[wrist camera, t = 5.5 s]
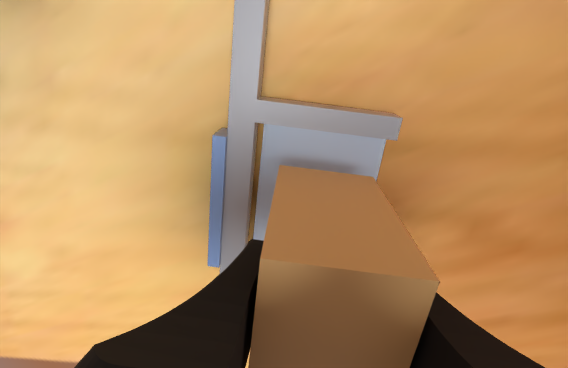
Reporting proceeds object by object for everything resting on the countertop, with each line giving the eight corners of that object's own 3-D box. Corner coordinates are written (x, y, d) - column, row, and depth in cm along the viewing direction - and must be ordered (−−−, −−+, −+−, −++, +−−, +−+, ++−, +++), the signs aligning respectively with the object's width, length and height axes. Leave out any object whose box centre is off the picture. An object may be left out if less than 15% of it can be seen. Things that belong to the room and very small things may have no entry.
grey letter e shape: (454, -144, 12) (479, -178, 10) (351, 290, 19) (356, 312, 17) (236, -170, 12) (225, -208, 10) (214, 272, 19) (206, 292, 18)
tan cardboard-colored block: (373, 176, 14) (439, 281, 7) (350, 274, 15) (387, 430, 9) (279, 164, 14) (260, 258, 7) (267, 263, 15) (243, 411, 9)
